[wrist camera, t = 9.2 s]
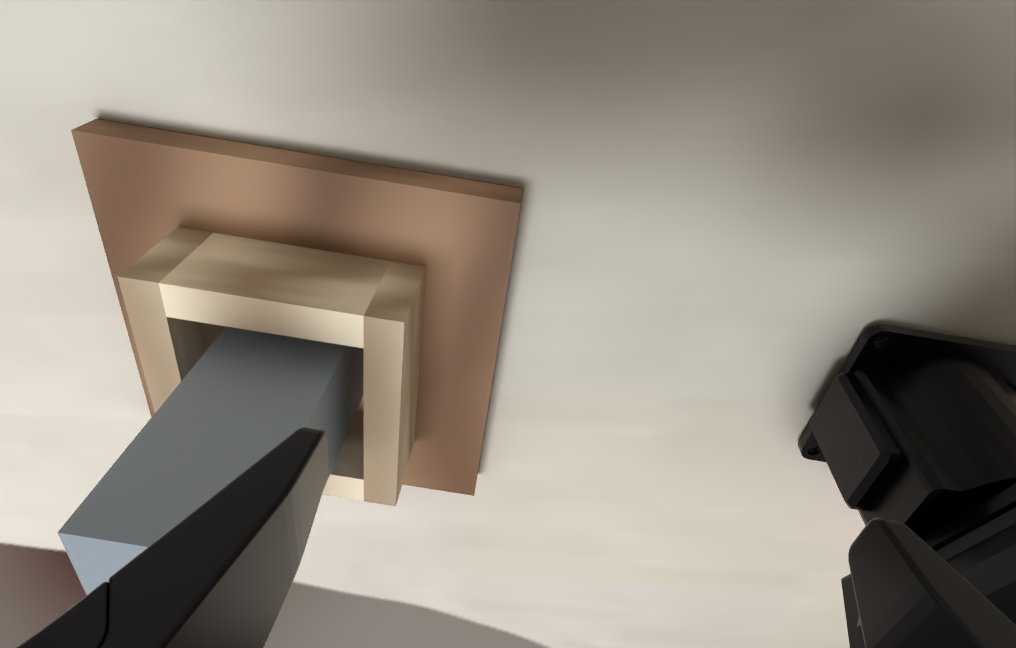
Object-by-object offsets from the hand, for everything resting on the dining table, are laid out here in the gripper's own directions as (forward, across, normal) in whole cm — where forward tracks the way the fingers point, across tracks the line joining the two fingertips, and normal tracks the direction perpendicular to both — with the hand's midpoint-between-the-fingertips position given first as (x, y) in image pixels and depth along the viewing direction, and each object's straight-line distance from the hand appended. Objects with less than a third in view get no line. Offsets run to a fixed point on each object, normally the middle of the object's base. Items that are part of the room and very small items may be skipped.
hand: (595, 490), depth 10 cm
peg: (+11, +9, +7) cm, 16 cm away
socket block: (+12, +9, +7) cm, 17 cm away
